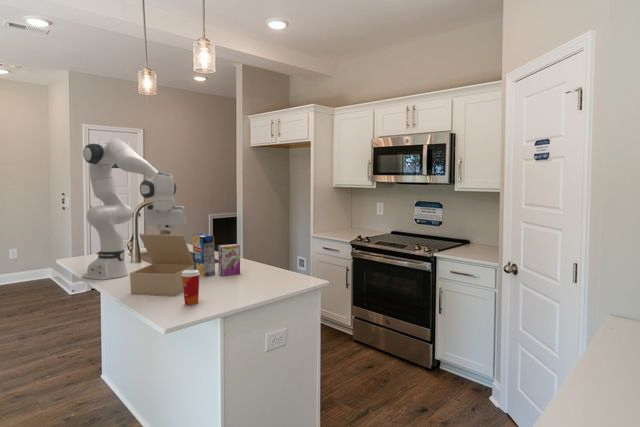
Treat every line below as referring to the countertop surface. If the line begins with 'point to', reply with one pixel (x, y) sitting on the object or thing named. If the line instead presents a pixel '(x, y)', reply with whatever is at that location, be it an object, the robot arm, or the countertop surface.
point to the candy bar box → (229, 259)
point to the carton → (158, 279)
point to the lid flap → (167, 248)
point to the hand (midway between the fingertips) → (166, 234)
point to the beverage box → (204, 254)
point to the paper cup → (191, 286)
